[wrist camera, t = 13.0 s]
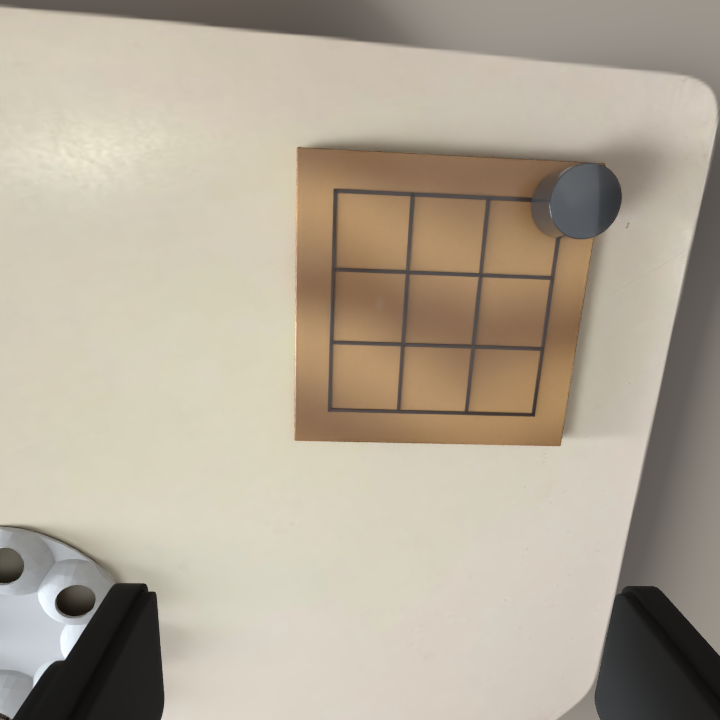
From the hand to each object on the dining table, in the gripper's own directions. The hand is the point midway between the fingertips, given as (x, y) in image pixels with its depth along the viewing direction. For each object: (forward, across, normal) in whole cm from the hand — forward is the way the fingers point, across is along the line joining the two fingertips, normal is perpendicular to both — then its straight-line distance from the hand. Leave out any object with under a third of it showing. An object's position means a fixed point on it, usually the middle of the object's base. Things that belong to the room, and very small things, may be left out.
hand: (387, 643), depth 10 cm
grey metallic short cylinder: (+25, -14, -10) cm, 30 cm away
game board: (+26, -6, -3) cm, 27 cm away
